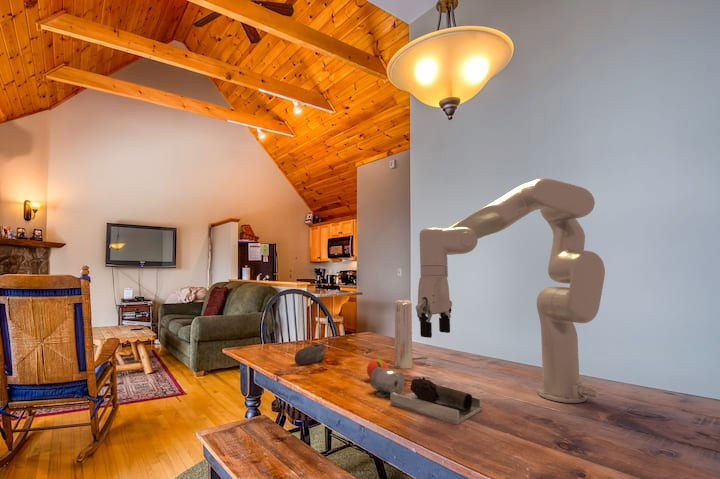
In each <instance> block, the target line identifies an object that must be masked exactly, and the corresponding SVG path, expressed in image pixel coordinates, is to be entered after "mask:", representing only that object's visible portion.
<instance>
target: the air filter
mask: <svg viewBox="0 0 720 479" xmlns="http://www.w3.org/2000/svg"><path fill="white" fill-rule="evenodd" d="M412 307H413V306H412V303H411V300H405V299H403V300H401V299H399V300H395V302H394V367H395V368H396V369H402V370H404V369H406V370H407V369H412V368H413V330H412V329H413V326H412V323H413V321H412V318H413V316H412V314H413V311H412V310H413V309H412Z"/></svg>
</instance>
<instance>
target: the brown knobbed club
mask: <svg viewBox="0 0 720 479" xmlns="http://www.w3.org/2000/svg"><path fill="white" fill-rule="evenodd" d="M409 390H410V391H411V392H413V393H414V394H415V395H416V396H417V398H418V399H419V400H423V401H426V402H430V403H431V402H436V401H440V402H443V403H446V404H448V405H451V406H454V407H457V408H460V409H463V410H466V411H469V410H470V409H471V407H472V403H473V400H472V396H473V395H472V394H471V393H468V392H465V391H461V390H457V389H454V388H450V387H447V386H443V385H437V384H435V383H434V382H433V381H431V380H429V379H426V378H425V377H418V378H413V379H412V380H411V383H410V389H409Z"/></svg>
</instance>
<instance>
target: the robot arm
mask: <svg viewBox="0 0 720 479" xmlns="http://www.w3.org/2000/svg"><path fill="white" fill-rule="evenodd" d="M595 202H596V201H595V197H594V196H593V194H592V193H591V192H590V191H589V190H588V189H586V188H584V187H583V186H578V185H575V184H571V183H567V182H564V181H560V180H558V179H557V180H556V179H552V178H545V177H544V178H543V177H542V178H537V179H534V180H532V181H531V180H530V181H528V182H525V183H523V184H521V185H519V186H516V187H515V188H513V189H512V190H510V191H509V192H507V193H506V194H504V195H501V197H499V198H497V199H495V200H494V201H492V202H490V203H488V204H487V205H486V206H484V207H481V208H480V209H478V210H477V211H475V212H474V213H472V214H470V215H468V216H467V217H464V218H463V219H461V220H459V221H458V222H456V223H455V224H453V225H451V226H449V227H448V228H443V227H442V228H441V227H427V228H423V229H421V230H420V232H419V265H420V266H419V267H420V268H419V270H420V277H419V281H418V287H417V304H416V306H415V310H416V313H417V318H418V322H419V324H420V325H419V326H420V330H419V331H420V337H422V338H432V337H433V333H432V331H433V330H432V324H433V323H432V322H431V320H432V316H433V315H439V317H438V328H439V330H438V331H439V332H440V333H445V334H450V333H451V318H452V314H451V313H452V306H453V301H452V300H451V299H450V288H449V282H448V281H449V280H448V278H449V272H448V271H449V269H448V264H449V263H448V256H450V255H451V256H452V255H453V256H454V255H465V254H468V253H471V252H472V251H474V250H475V248H476V247H477V244H478V242H479V241H478V240H479V239H482V238H483V237H485V236H489V235H492V234H496V233H498V232H501V231H504V230H506V229H508V227H510V226H511V225H514V224H515V223H516V222H517V221H519V220H521V219H522V218H524V217H526V216H527V215H529V214H530V213H533V212H534V211H537V210H539V211H540V215H541V216H542V218H543V219H544V220H545V221H546V222H547V224H548V225H549V227H550V229H551V231H552V235H553V238H552V246H551V250H550V255H549V261H548V266H547V267H548V268H547V273H548V277H549V279H551V280H552V281H555V282H556V283H559V284H560V283H561V284H569V287H565V286H564V287H563V286H550V287H546V288H544V289H542V290H541V291H540V292H539V293H538V296H537V297H536V309H537V314H538V319H539V324H540V334H541V335H540V336H541V339H540V340H541V362H542V363H541V364H542V386H539V387H537V394H538V395H539V396H540V397H542V398H544V399H546V400H551V401H554V402H558V403H560V402H561V403H565V404H567V403H569V404H579V403H584V402H586V401H587V396H588V397H592V398H598V390H597V389H595V388H594V387H586V386H585V385H584V384H583V381H581V380H580V362H579V344H578V343H579V340H578V339H579V338H578V332H577V328H576V325H575V324H574V323H576V324H588V323H590V322H592V321H593V320H594V319H595V318H596V316H597V314H598V312H599V308H600V305H601V299H602V295H603V294H602V293H603V288H604V282H605V281H604V280H605V274H606V269H605V265H604V261H603V259H602V258H601V257H600V255H598V254H597V253H596V252H594V251H591V250H585V243H586V236H585V232H584V228H583V227H582V226H581V224H580V223H579V221H578V220H577V219H580V218H583V217H586V216H588V215H589V214H591V213H592V211H593V210H594V208H595V204H596V203H595Z"/></svg>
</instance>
